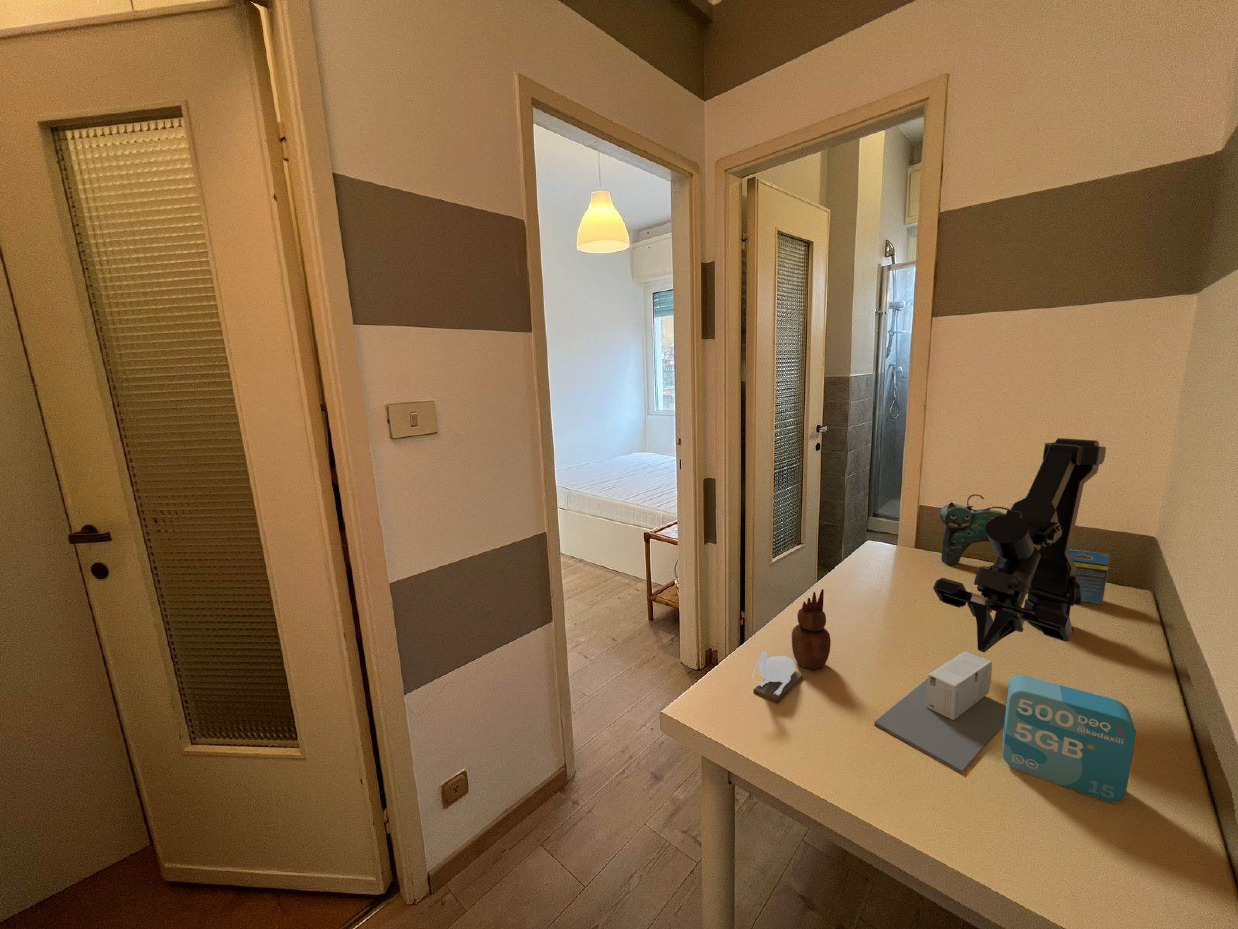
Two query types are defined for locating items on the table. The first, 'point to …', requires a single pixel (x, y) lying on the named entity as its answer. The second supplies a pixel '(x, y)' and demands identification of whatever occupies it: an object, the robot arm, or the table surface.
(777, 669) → the figurine
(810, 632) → the wooden figurine
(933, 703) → the skincare box
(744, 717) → the table surface
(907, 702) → the mat
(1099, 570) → the label tape box
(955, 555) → the ceramic cat
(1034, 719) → the data package
